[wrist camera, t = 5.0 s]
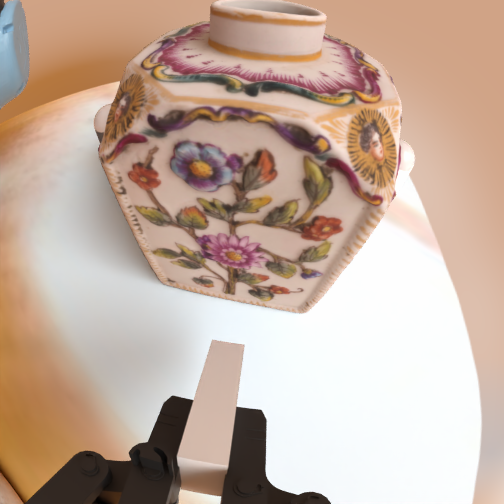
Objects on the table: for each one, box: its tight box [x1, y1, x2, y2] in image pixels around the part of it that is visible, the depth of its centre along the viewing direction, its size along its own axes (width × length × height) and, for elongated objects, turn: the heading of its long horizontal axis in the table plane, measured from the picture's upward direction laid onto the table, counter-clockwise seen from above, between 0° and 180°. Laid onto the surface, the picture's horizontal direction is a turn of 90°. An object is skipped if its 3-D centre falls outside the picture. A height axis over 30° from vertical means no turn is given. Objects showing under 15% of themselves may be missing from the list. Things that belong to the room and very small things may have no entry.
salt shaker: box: [395, 138, 415, 193], centre depth 22 cm, size 3×3×9 cm
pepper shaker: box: [94, 104, 111, 143], centre depth 22 cm, size 3×3×9 cm
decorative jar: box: [98, 0, 402, 313], centre depth 16 cm, size 12×12×18 cm
